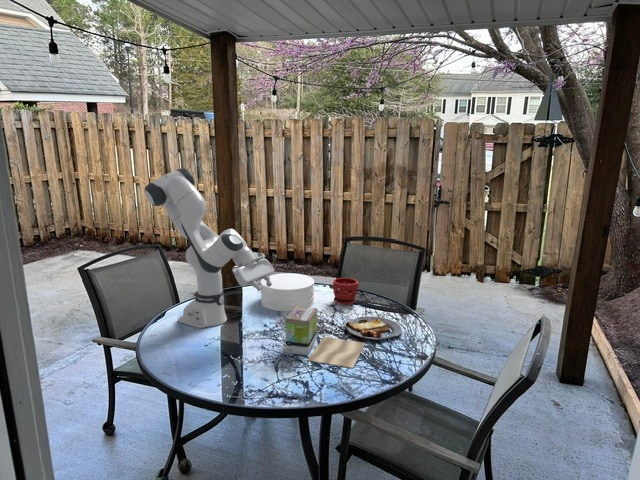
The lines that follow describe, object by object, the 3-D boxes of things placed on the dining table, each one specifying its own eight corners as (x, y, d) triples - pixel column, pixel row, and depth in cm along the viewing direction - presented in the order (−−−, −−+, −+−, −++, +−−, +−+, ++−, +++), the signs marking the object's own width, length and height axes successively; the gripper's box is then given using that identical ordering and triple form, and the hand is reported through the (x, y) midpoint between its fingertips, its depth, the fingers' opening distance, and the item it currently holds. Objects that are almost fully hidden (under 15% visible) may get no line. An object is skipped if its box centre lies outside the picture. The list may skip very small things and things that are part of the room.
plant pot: (358, 306, 226) (359, 284, 223) (332, 306, 226) (333, 284, 224) (356, 298, 239) (357, 277, 236) (332, 297, 239) (332, 276, 236)
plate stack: (319, 295, 243) (319, 275, 241) (306, 313, 216) (306, 291, 214) (271, 291, 249) (271, 271, 247) (253, 308, 222) (252, 286, 220)
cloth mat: (307, 360, 169) (307, 360, 169) (324, 337, 190) (324, 336, 190) (352, 368, 164) (352, 367, 164) (365, 343, 184) (365, 342, 184)
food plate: (360, 346, 182) (361, 338, 181) (336, 325, 203) (336, 318, 202) (411, 337, 192) (411, 330, 191) (383, 319, 213) (383, 312, 212)
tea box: (309, 355, 173) (309, 320, 170) (284, 353, 175) (284, 318, 172) (317, 339, 188) (317, 307, 185) (294, 337, 190) (294, 305, 187)
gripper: (234, 263, 177) (253, 290, 174) (265, 252, 194) (283, 277, 191) (226, 272, 180) (245, 299, 177) (257, 261, 197) (275, 285, 194)
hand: (265, 287), depth 184 cm, fingers open, 5 cm apart
